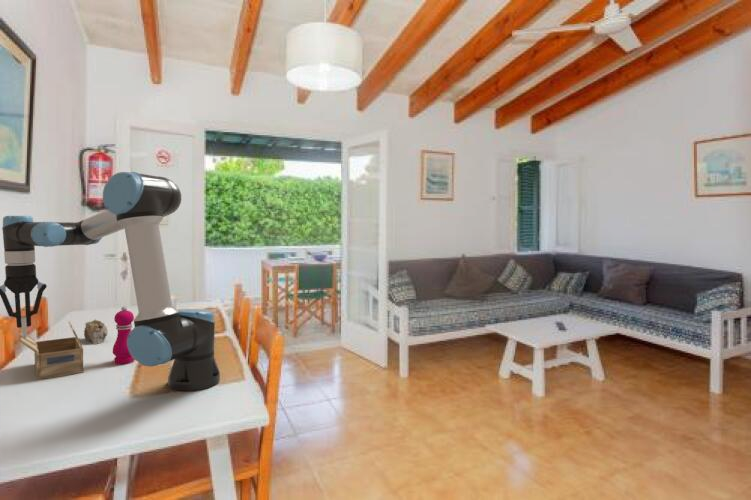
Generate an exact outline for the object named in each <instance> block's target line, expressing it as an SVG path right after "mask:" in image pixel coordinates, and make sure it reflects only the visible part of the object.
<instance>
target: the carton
mask: <svg viewBox="0 0 751 500" xmlns="http://www.w3.org/2000/svg"><path fill="white" fill-rule="evenodd" d="M35 342H36V348H37V353H36V352H34V369H35V374H36V380H37V381H39V380H40V379H41V380H46V379H51V378H57V377H58V378H59V377H64V376H69V375H76V374H81V373H84V347H83V345H82V346H80V344H79V343H78V341H77V339H76V337H75V336H72V337H65V338H64V337H63V338H56V339H48V340H40V341H35Z"/></svg>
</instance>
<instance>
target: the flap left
mask: <svg viewBox="0 0 751 500" xmlns="http://www.w3.org/2000/svg"><path fill="white" fill-rule="evenodd" d="M18 331H19V342H20V344H22V345H24V346H25V347H27V348H28V349H29V350H31V351H33V352H34V353H35V352H36V353H37V348H36V342H37V341H36V340H35V339H34V338H33V337H31V336H30V335H28V334H27V338H23V337H22V329H21V330H18Z"/></svg>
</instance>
